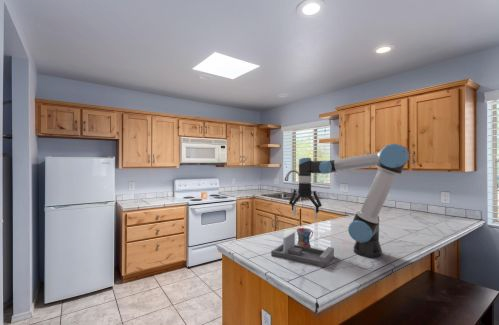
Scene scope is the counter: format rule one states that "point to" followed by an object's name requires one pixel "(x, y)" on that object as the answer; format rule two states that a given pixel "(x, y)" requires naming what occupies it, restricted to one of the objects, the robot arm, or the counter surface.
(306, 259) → the grey tray
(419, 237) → the counter surface
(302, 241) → the mug
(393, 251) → the counter surface
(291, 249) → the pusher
